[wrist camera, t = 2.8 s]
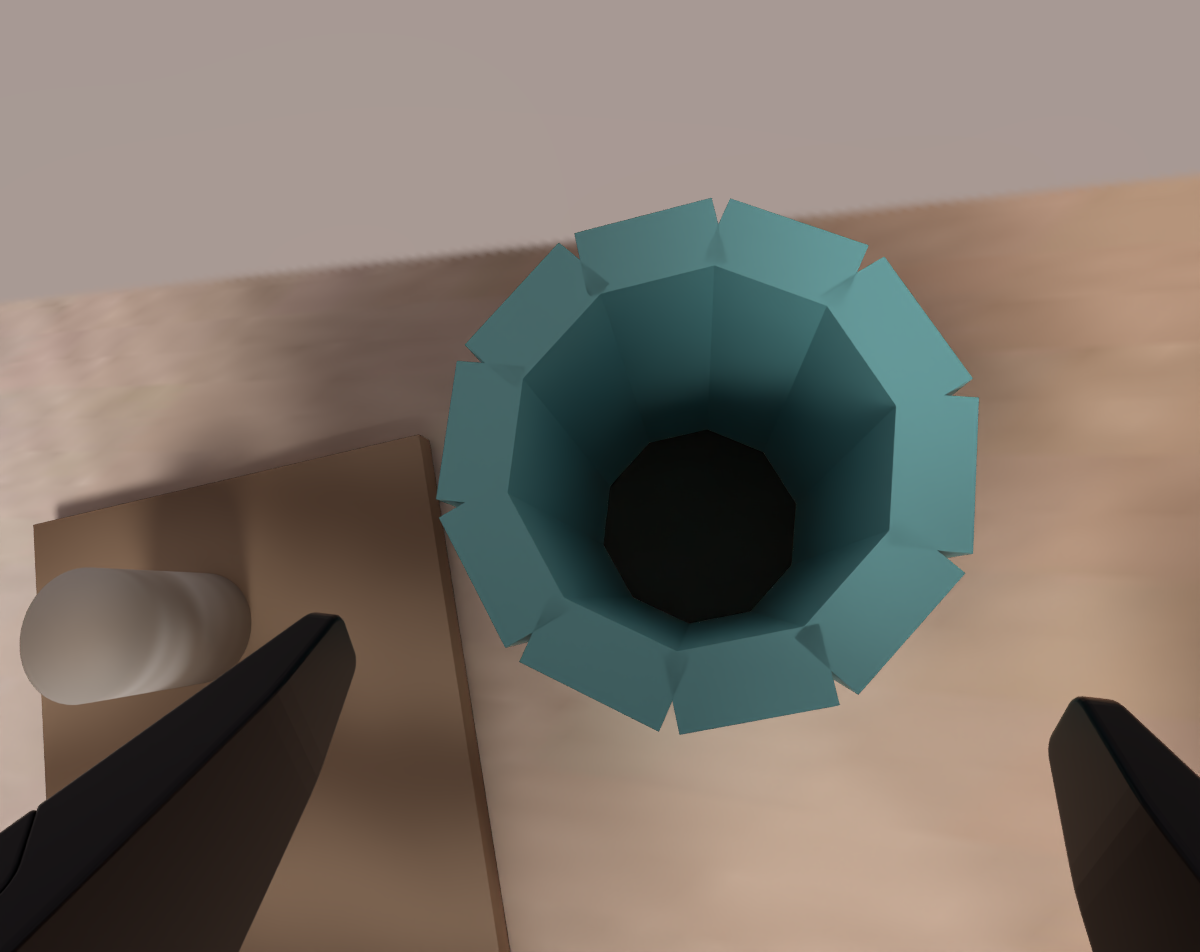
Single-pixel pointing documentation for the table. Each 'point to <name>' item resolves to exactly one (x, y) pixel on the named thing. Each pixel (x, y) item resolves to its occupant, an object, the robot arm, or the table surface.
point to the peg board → (251, 619)
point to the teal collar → (729, 408)
